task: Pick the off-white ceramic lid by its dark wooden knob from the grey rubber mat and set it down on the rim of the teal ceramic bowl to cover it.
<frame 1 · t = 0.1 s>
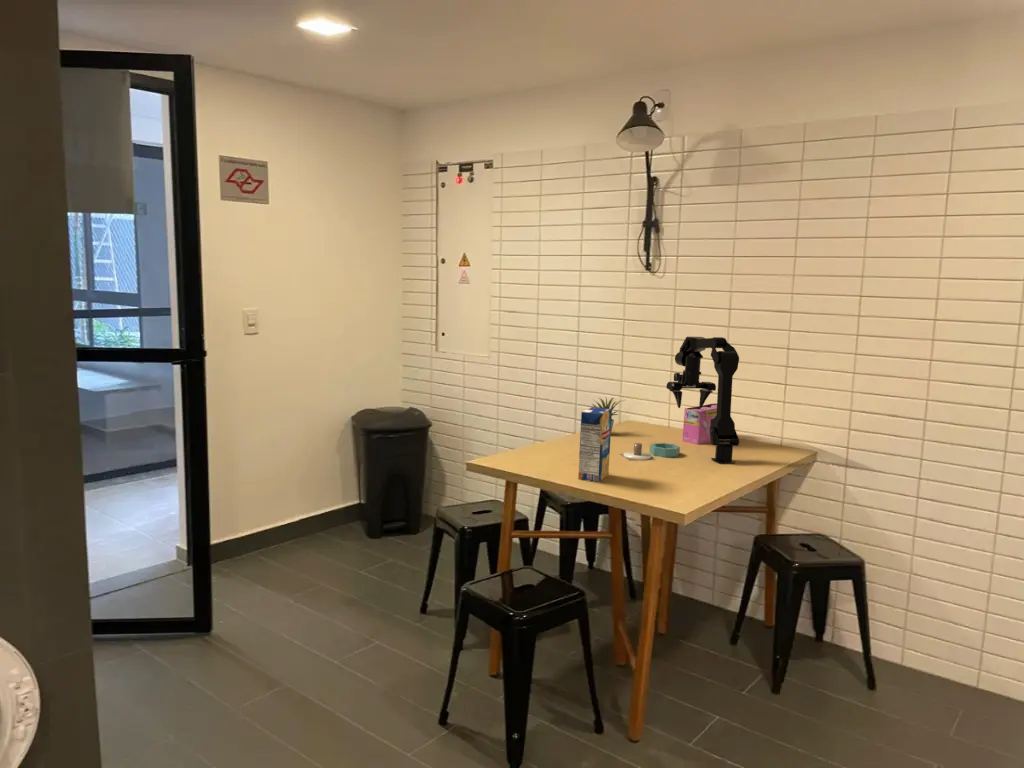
hand: (689, 407, 300), 15 cm above the table, fingers open, 9 cm apart
lid: (637, 456, 276), resting on mat
gum box: (705, 440, 313), on the table
beverage box: (593, 477, 248), on the table
mat: (637, 458, 276), on the table
bowl: (664, 455, 282), on the table
house plant: (607, 434, 316), on the table
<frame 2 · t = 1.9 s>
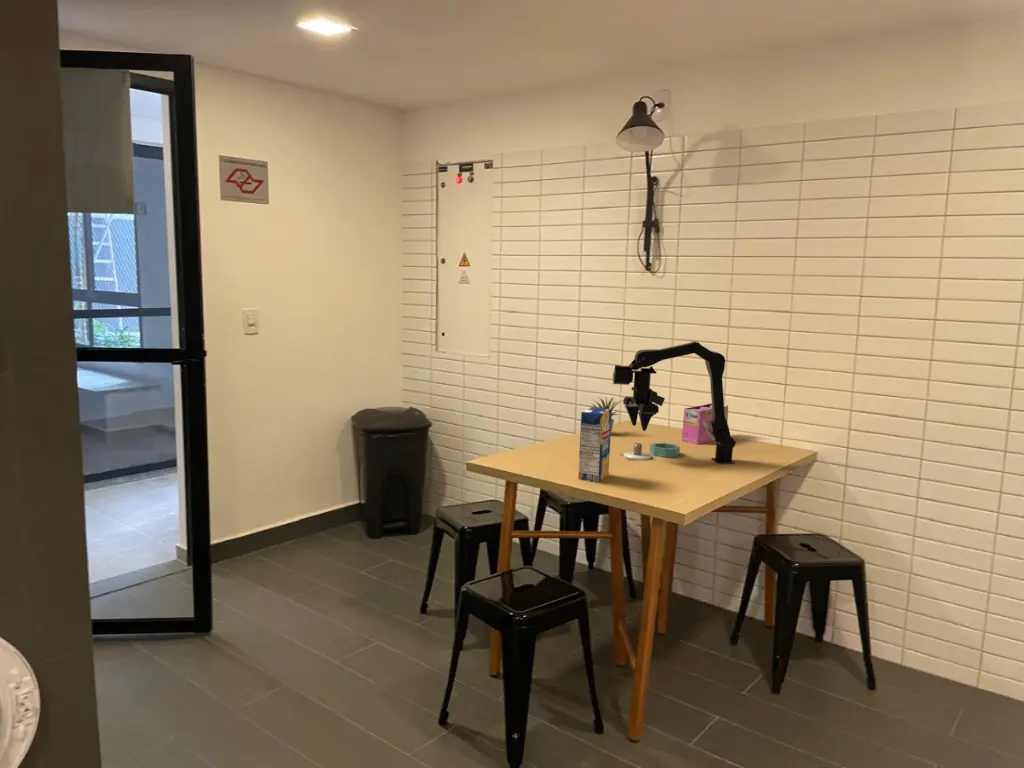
hand: (639, 428, 275), 11 cm above the table, fingers open, 9 cm apart
nothing on the table moved.
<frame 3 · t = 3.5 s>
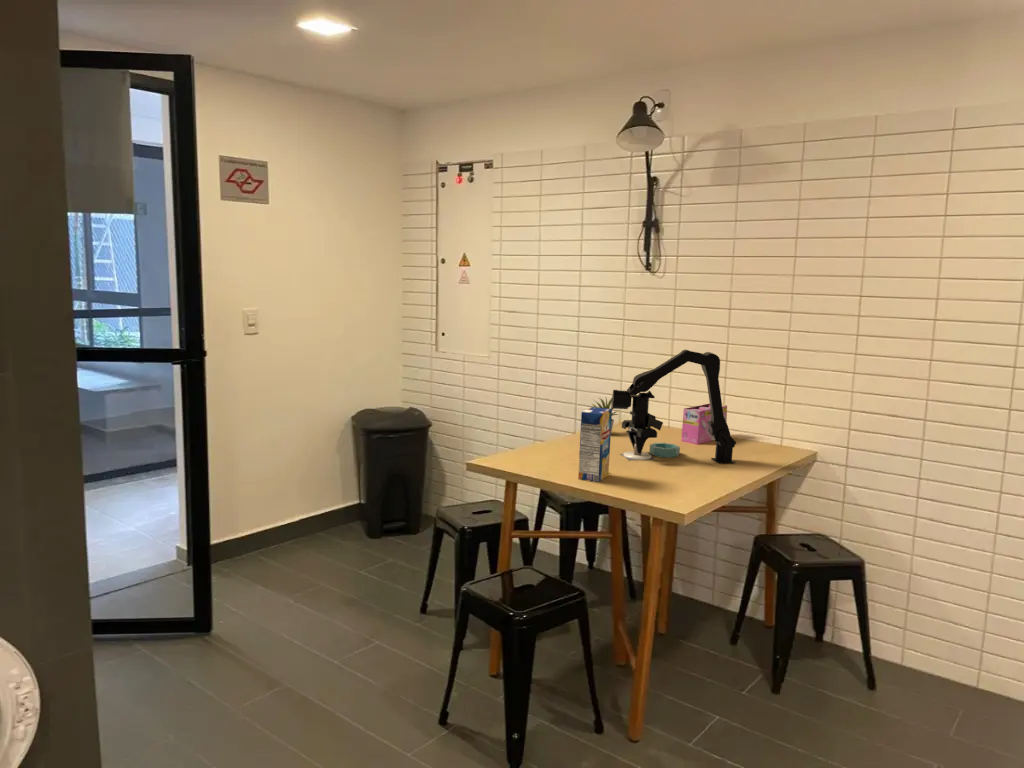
hand: (637, 452, 276), 2 cm above the table, fingers closed on lid, 3 cm apart
lid: (637, 456, 276), resting on mat, touching gripper
everything else where it was.
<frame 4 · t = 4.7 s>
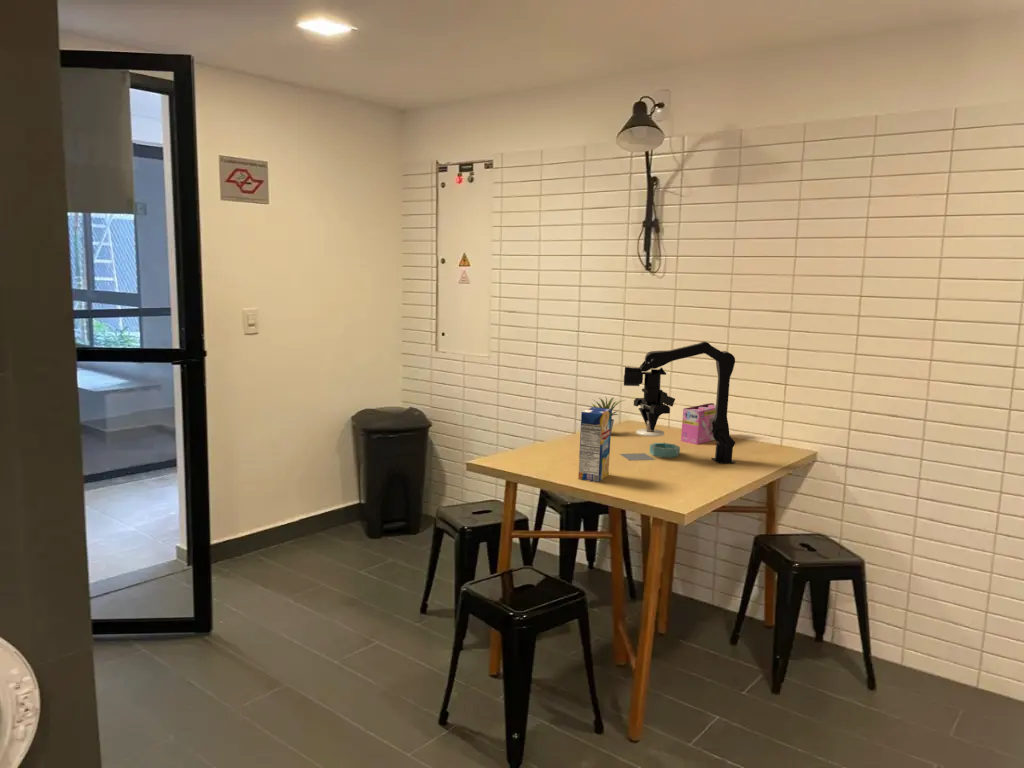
hand: (650, 429, 277), 10 cm above the table, fingers closed on lid, 3 cm apart
lid: (650, 433, 277), point 9 cm above the table, touching gripper
everything else where it was.
when the fingers open (7 cm above the table, at t = 6.1 s): lid drops 1 cm, resting on bowl.
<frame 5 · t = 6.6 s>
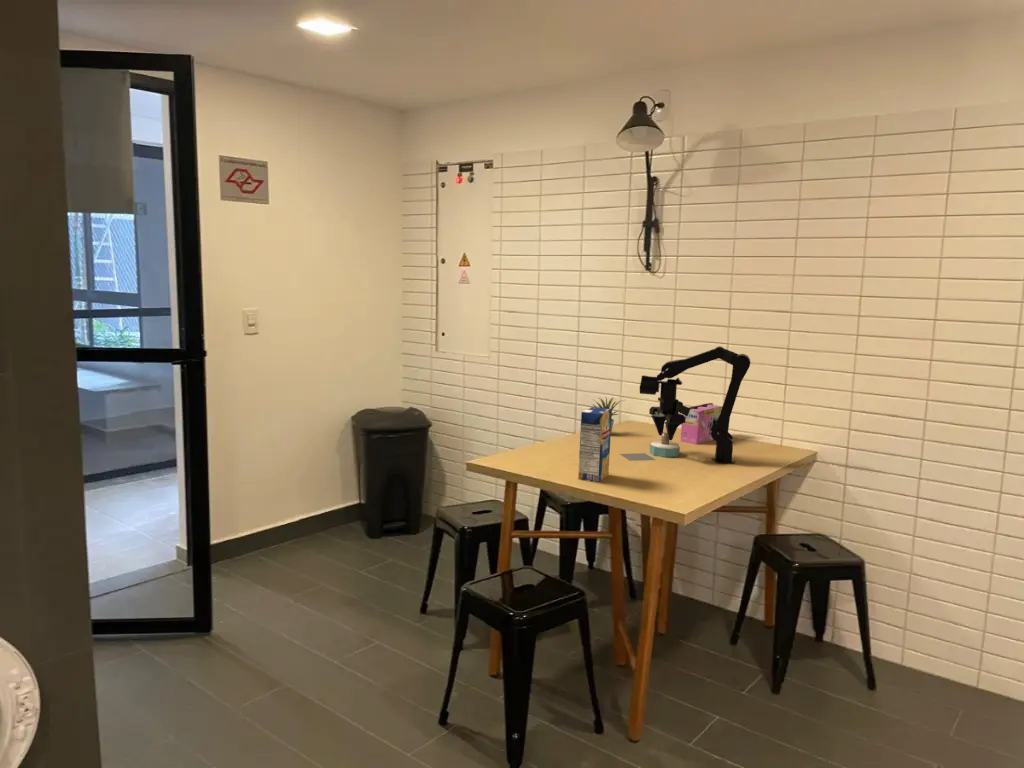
hand: (665, 437, 281), 7 cm above the table, fingers open, 8 cm apart
lid: (664, 445, 281), point 4 cm above the table, touching bowl
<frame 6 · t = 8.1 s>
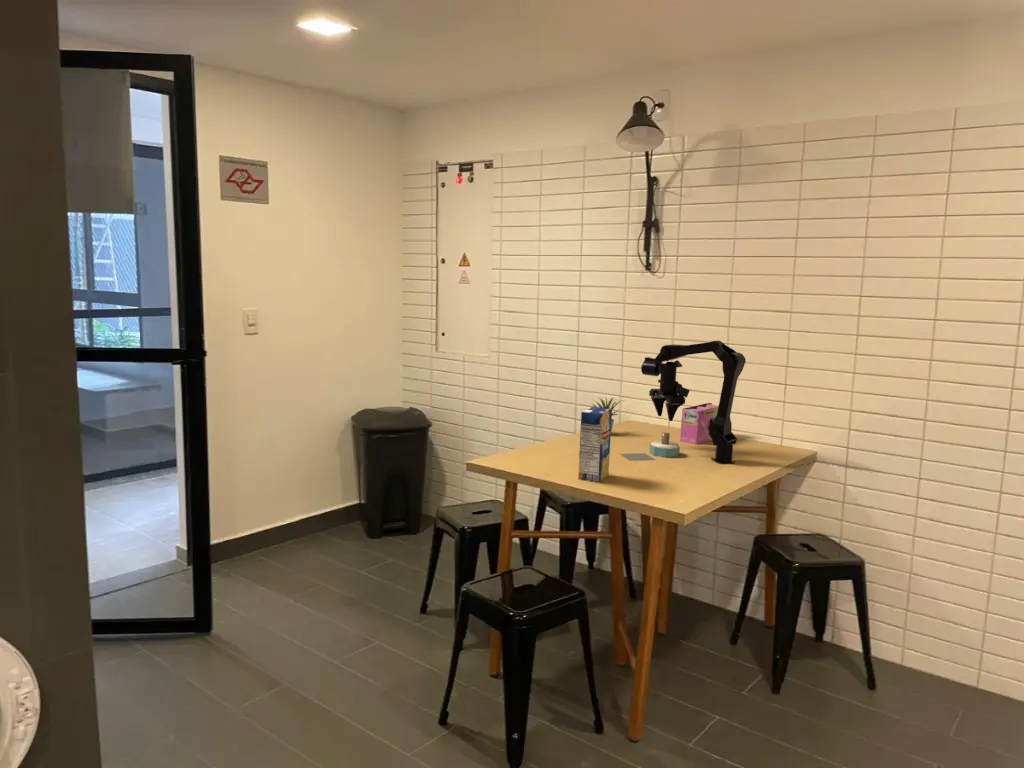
hand: (665, 418, 289), 12 cm above the table, fingers open, 9 cm apart
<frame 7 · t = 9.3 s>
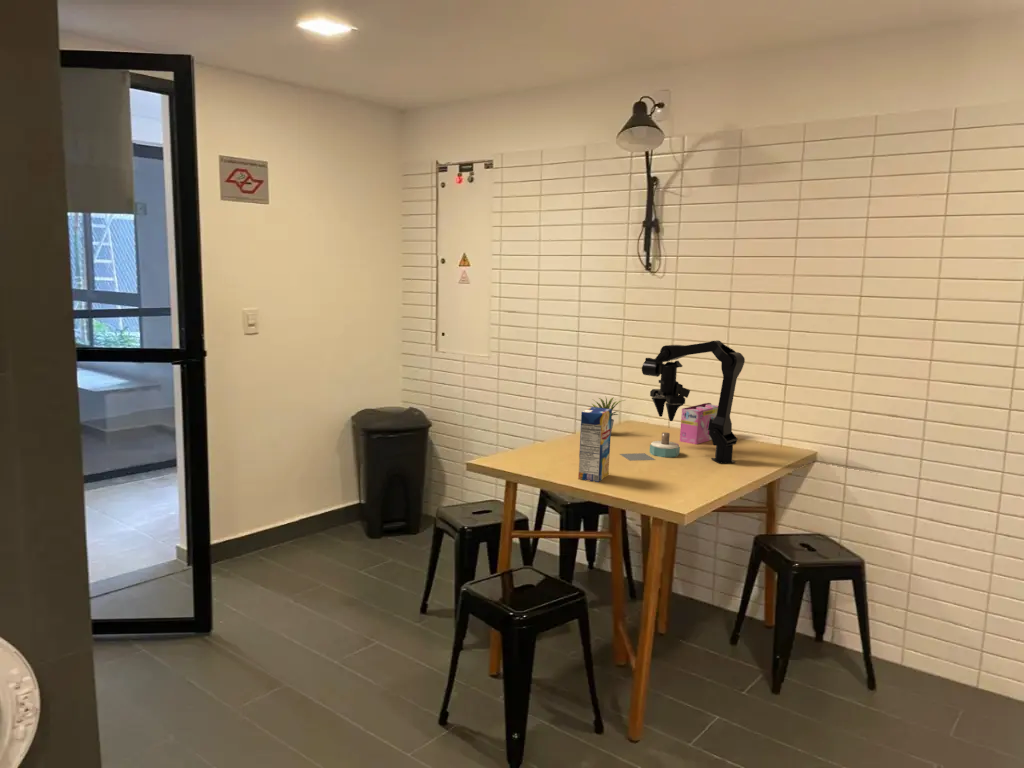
hand: (665, 418, 290), 12 cm above the table, fingers open, 9 cm apart
at the end: lid 0.1 cm off-centre on the bowl, point 3.6 cm above the bowl's base; lid tilted 0°; the gripper is holding nothing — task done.
